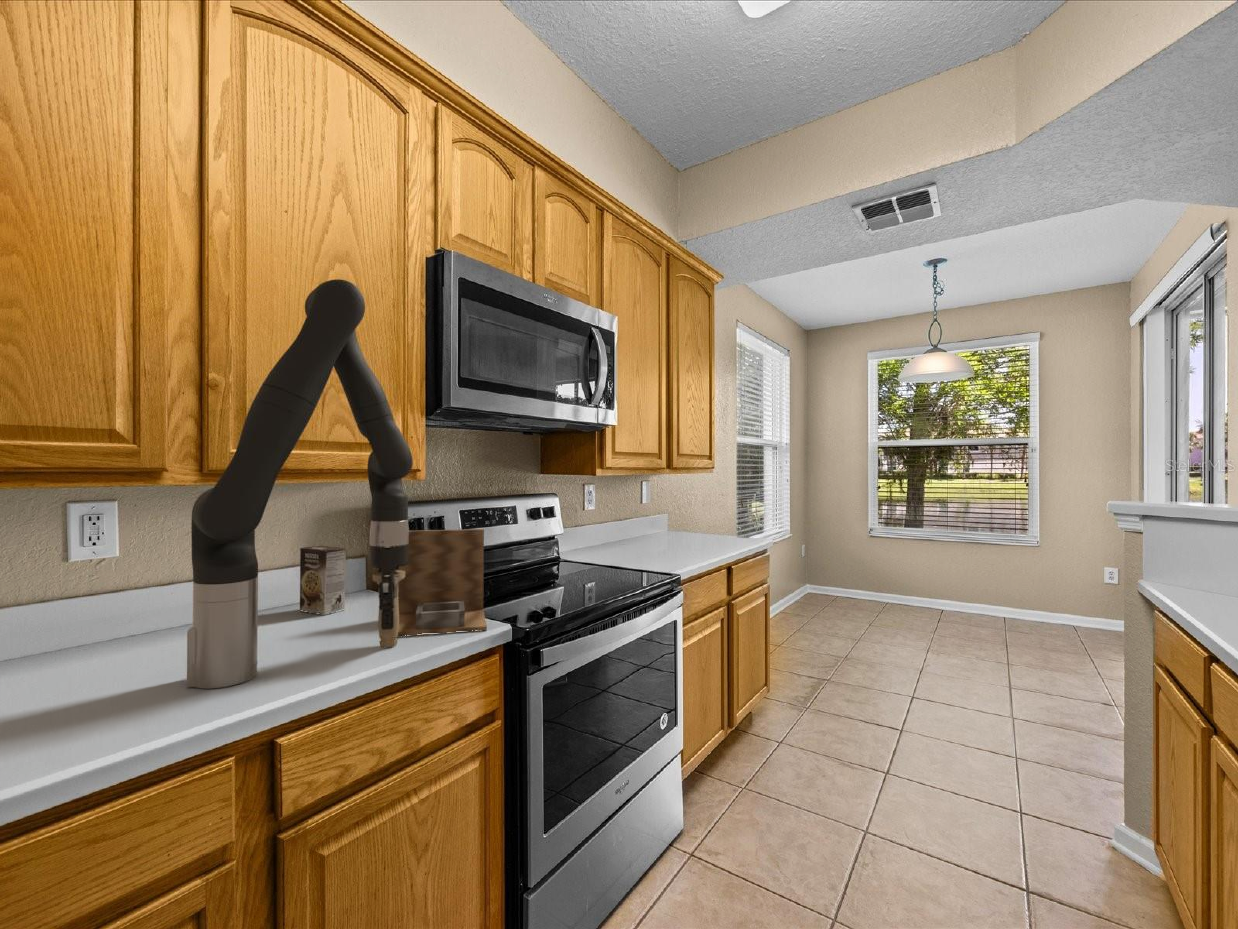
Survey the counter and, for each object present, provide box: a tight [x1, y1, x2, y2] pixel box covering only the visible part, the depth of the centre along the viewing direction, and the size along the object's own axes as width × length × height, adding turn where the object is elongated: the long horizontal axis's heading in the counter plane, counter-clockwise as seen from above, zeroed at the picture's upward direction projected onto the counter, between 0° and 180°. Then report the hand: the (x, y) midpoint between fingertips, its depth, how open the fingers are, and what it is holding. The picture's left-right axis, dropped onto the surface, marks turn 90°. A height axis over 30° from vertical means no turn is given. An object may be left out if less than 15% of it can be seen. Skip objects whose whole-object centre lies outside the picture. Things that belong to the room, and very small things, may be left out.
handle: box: [372, 569, 405, 648], centre depth 117 cm, size 5×6×15 cm
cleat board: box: [398, 528, 488, 637], centre depth 134 cm, size 20×19×21 cm
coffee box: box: [299, 544, 347, 616], centre depth 144 cm, size 9×6×16 cm
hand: (388, 625), depth 117 cm, fingers closed on handle, 4 cm apart
